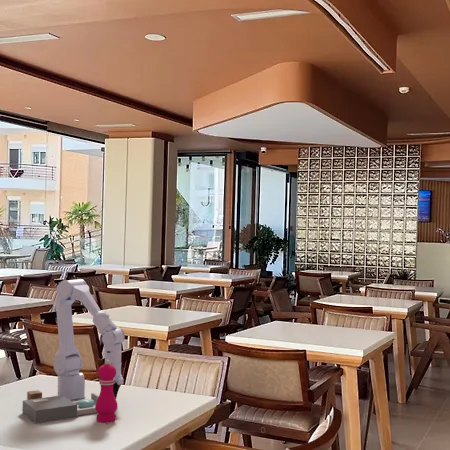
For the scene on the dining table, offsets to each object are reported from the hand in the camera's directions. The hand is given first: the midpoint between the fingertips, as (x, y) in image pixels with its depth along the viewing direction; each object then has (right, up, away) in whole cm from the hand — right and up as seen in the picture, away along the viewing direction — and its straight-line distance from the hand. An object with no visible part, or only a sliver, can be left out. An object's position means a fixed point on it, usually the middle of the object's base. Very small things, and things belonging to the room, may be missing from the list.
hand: (112, 400), depth 233 cm
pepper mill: (+1, -2, -17) cm, 18 cm away
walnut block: (-27, -1, -3) cm, 27 cm away
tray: (-9, -1, -6) cm, 11 cm away
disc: (-8, -1, -6) cm, 10 cm away
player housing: (-19, -1, -13) cm, 23 cm away
